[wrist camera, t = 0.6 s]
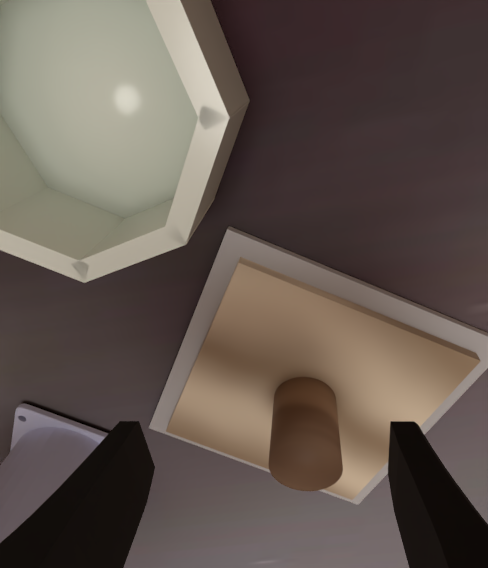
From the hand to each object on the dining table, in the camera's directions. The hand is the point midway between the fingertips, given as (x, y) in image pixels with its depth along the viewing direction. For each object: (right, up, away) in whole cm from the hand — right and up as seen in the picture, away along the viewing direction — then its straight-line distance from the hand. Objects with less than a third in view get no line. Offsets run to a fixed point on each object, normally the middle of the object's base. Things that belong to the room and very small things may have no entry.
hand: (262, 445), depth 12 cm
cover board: (+3, -1, +10) cm, 10 cm away
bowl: (-6, +12, +4) cm, 14 cm away
